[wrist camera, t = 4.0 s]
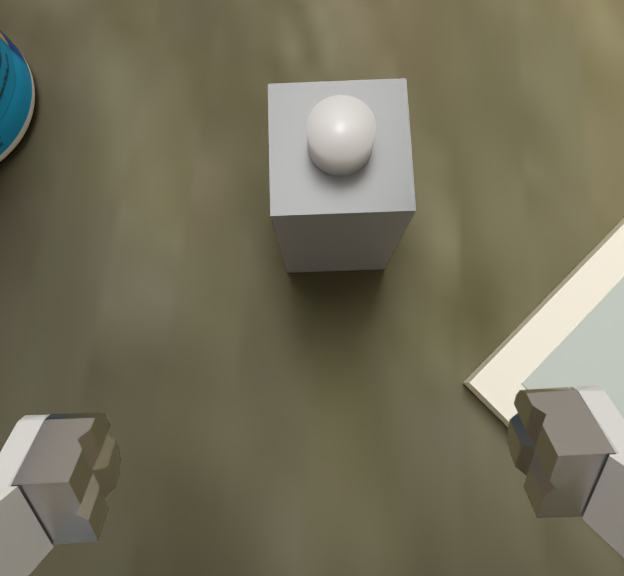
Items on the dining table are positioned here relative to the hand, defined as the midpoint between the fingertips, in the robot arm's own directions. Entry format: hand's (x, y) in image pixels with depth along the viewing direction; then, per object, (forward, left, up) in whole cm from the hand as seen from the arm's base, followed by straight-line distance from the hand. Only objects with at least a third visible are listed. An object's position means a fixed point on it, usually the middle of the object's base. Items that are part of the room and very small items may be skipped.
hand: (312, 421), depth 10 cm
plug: (+6, +5, -12) cm, 15 cm away
